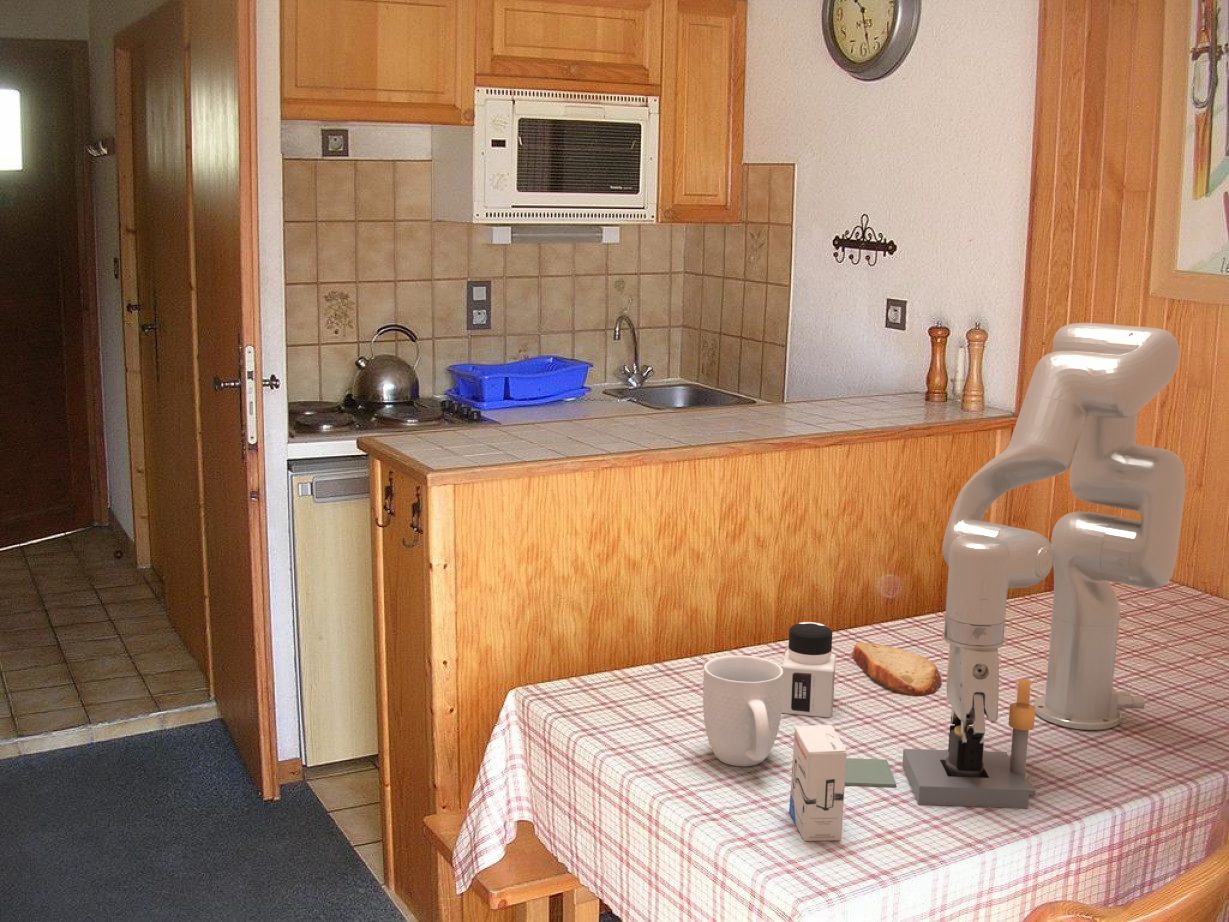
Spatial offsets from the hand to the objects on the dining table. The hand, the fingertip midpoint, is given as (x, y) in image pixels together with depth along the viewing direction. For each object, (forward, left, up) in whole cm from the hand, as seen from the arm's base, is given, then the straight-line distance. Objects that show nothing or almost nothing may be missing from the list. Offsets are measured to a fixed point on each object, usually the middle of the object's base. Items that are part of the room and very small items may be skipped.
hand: (964, 760), depth 175 cm
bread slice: (+2, -44, -4) cm, 44 cm away
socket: (0, 0, -4) cm, 4 cm away
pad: (+13, -3, -4) cm, 14 cm away
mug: (+29, -6, -4) cm, 30 cm away
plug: (0, 0, -4) cm, 4 cm away
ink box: (+21, +13, -4) cm, 25 cm away
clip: (-8, -5, +5) cm, 11 cm away
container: (+18, -27, -4) cm, 33 cm away
